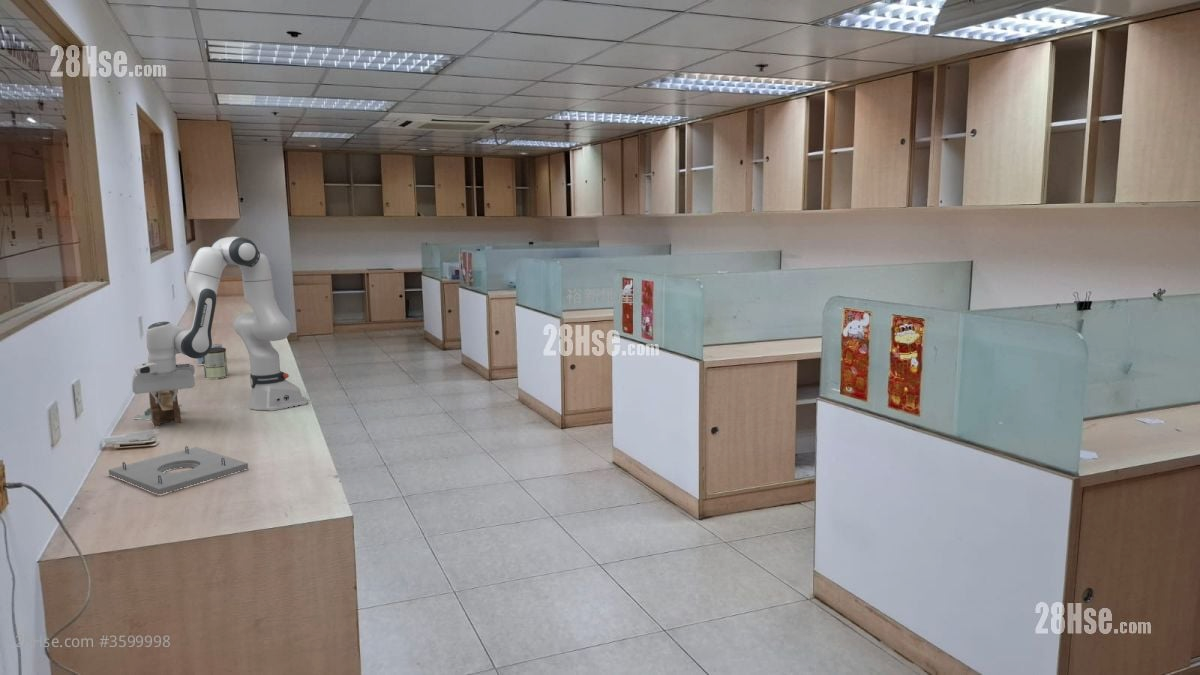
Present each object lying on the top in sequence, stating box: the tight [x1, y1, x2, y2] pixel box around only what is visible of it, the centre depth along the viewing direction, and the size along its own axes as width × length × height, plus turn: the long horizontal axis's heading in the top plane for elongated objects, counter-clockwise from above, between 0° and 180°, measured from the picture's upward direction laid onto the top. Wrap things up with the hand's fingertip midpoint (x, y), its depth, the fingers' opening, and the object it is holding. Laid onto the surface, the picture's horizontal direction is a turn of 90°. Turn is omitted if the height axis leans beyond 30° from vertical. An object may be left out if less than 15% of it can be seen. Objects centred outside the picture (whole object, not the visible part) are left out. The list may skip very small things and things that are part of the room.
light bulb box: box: [197, 343, 223, 365], centre depth 396 cm, size 11×7×11 cm, turn 81°
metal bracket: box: [133, 403, 183, 421], centre depth 296 cm, size 14×6×15 cm
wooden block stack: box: [148, 390, 182, 427], centre depth 285 cm, size 9×8×12 cm
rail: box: [158, 391, 173, 411], centre depth 278 cm, size 3×13×6 cm, turn 36°
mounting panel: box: [108, 445, 249, 494], centre depth 231 cm, size 27×5×30 cm
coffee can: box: [203, 347, 229, 380], centre depth 364 cm, size 10×10×14 cm
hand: (165, 402), depth 278 cm, fingers closed on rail, 3 cm apart
